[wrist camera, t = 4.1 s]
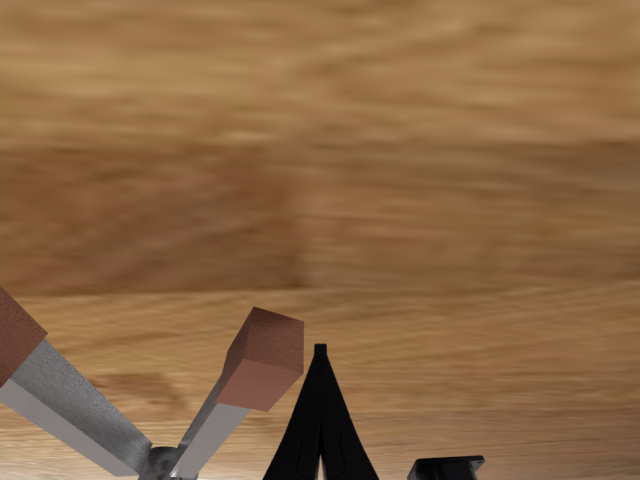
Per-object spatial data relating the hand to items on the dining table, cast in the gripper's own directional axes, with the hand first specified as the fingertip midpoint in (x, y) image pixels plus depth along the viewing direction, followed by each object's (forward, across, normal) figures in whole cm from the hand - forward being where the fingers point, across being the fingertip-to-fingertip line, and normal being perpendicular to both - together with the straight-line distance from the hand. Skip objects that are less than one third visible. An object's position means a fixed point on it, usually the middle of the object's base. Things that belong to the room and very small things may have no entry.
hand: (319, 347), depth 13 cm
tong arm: (+1, +8, +8) cm, 11 cm away
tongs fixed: (0, +14, +9) cm, 16 cm away
